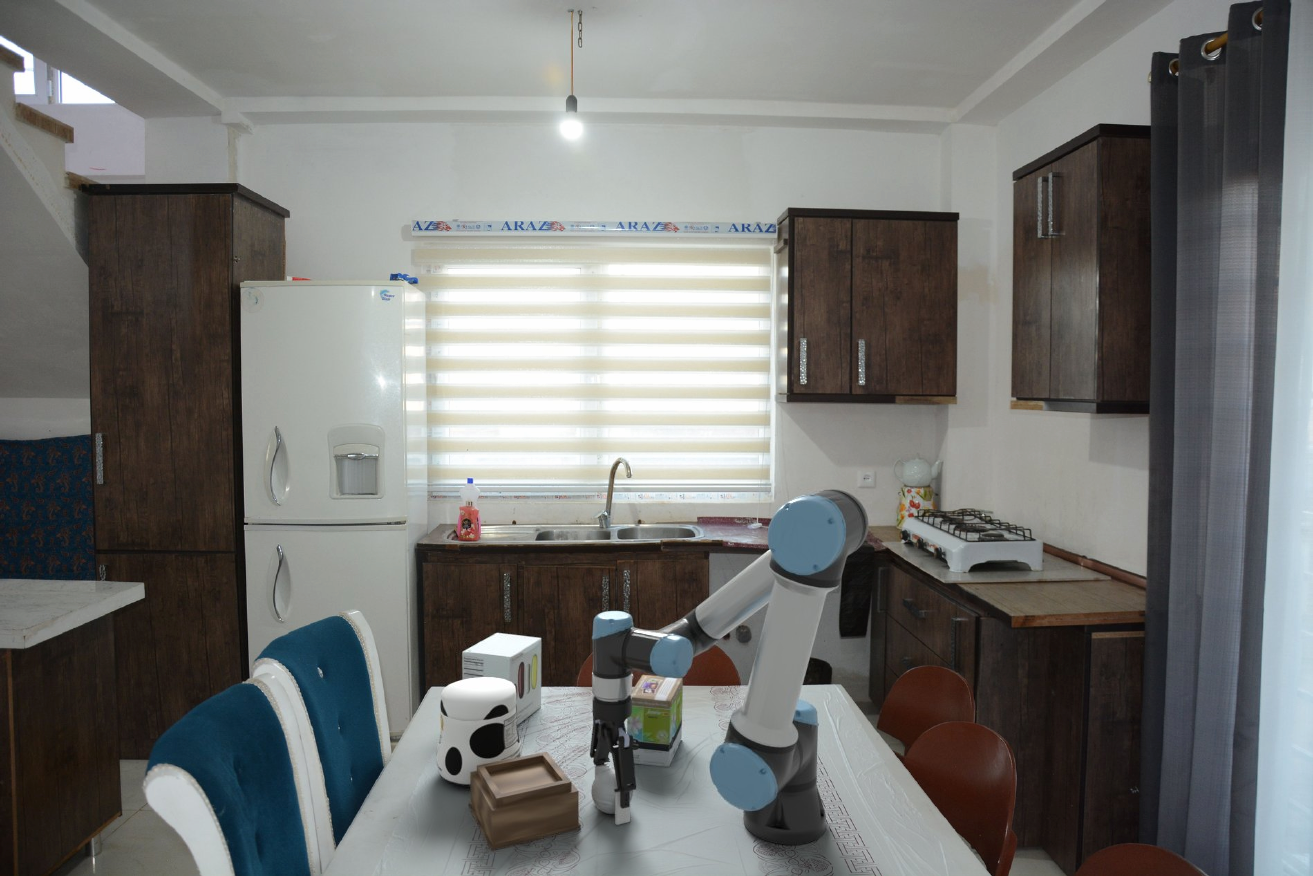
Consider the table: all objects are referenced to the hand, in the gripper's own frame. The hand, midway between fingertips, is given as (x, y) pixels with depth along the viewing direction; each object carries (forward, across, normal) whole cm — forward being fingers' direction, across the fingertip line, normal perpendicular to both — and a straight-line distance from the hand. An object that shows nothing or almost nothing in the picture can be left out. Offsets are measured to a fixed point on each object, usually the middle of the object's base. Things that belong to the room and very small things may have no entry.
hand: (611, 810), depth 155 cm
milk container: (+1, +26, +19) cm, 32 cm away
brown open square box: (0, +5, +16) cm, 17 cm away
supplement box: (+1, +54, +6) cm, 54 cm away
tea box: (+1, +20, -19) cm, 28 cm away
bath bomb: (0, 0, 0) cm, 0 cm away
